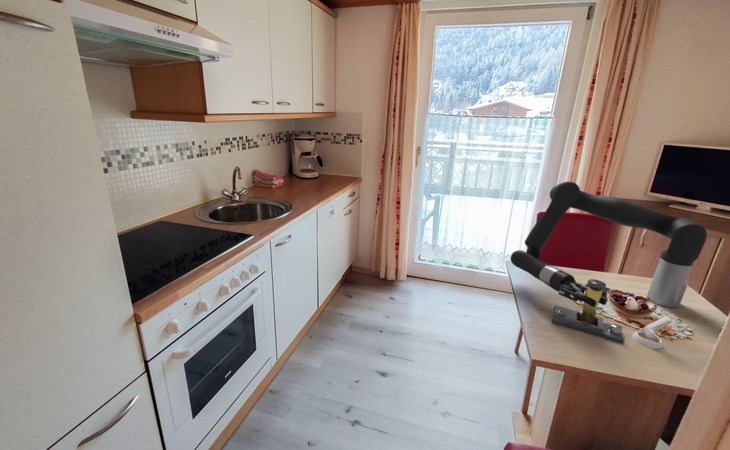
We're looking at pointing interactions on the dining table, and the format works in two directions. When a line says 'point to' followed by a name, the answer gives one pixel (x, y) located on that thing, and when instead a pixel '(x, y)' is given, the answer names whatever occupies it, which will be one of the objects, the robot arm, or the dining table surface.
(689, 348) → the dining table surface
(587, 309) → the pin
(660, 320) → the white vr controller
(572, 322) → the grey plate with studs
